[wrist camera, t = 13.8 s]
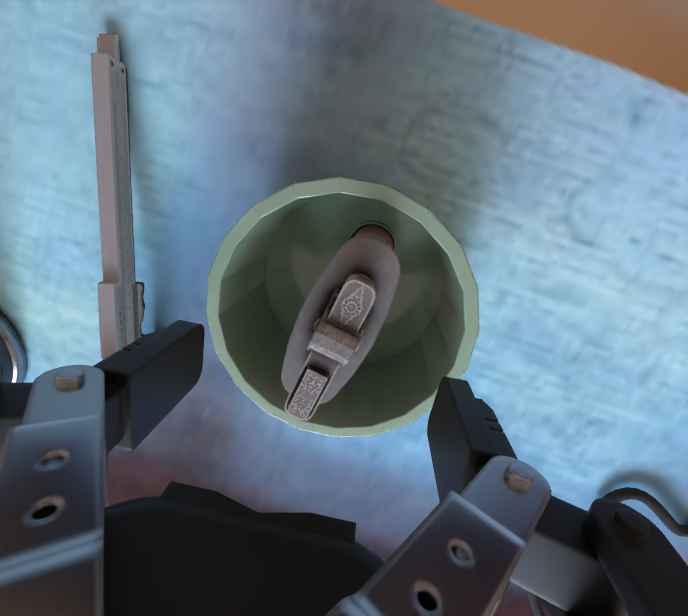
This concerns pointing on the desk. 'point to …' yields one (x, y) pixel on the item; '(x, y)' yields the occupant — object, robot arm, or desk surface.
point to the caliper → (115, 201)
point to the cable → (620, 496)
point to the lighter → (340, 319)
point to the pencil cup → (299, 279)
